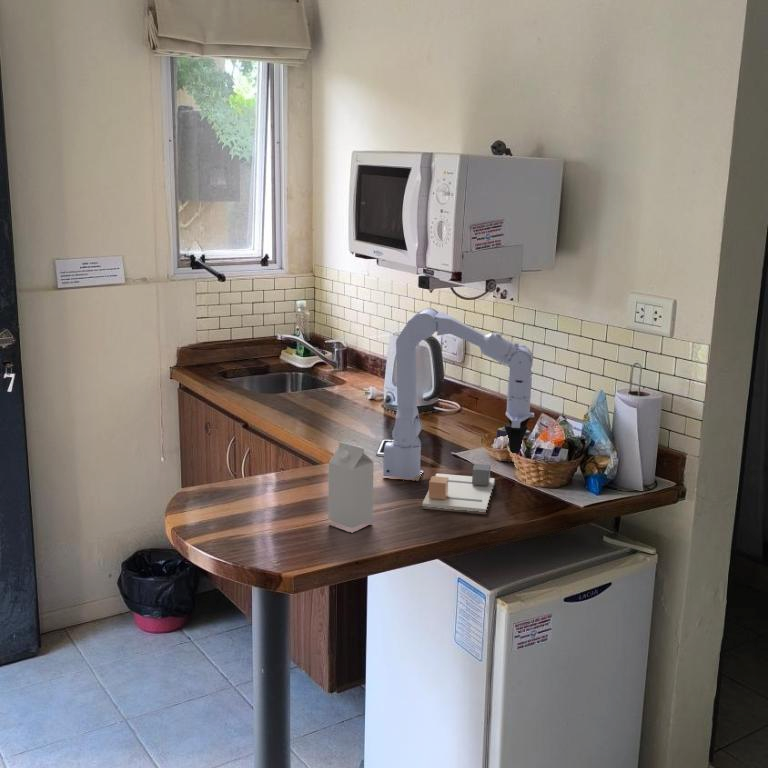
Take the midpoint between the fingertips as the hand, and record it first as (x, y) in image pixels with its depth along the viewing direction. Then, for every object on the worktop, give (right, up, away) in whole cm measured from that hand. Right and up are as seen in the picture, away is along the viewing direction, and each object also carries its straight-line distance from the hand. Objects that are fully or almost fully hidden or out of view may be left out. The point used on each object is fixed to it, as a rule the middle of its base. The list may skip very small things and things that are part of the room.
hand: (516, 447), depth 232 cm
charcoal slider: (-9, -9, -1) cm, 12 cm away
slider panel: (-15, -11, -6) cm, 19 cm away
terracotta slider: (-20, -11, -11) cm, 25 cm away
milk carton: (-41, -16, -25) cm, 51 cm away
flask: (+2, -5, +22) cm, 23 cm away
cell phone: (-31, -3, +31) cm, 44 cm away
